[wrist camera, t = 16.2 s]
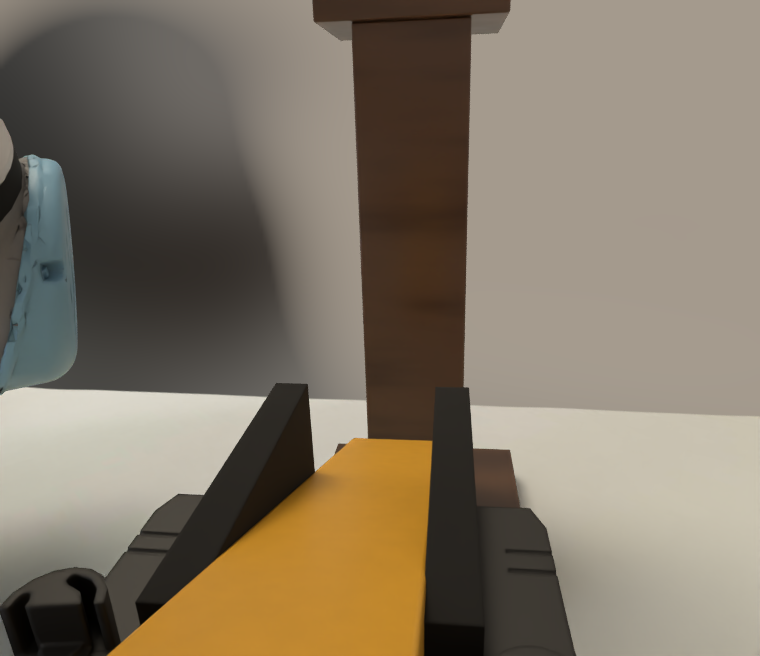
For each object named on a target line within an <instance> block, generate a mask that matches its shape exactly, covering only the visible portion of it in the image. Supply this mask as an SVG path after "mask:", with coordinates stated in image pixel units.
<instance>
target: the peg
mask: <svg viewBox="0 0 760 656" xmlns="http://www.w3.org/2000/svg"><path fill="white" fill-rule="evenodd" d="M431 456H432V441H423V440H393V439H363V438H354V439H352V440H351V441H350V442H349V443H348V444H346V445H345V446H344V447H343V448H342V449H341V450H340V451H339V452H337V453H336V454H335V455H334V456H333V457H332V458H331V459H329V460H328V461H327V462H326V463H325V464H324V465H323V466H321V467H320V468H319V469H318V470H317V471H316V472H315V473H314V474H312V475H311V476H310V477H309V478H308V479H307V480H306V481H304V482H303V483H302V484H301V485H300V486H299V487H298V488H296V489H295V490H294V491H293V492H292V493H291V494H290V495H289V496H287V497H286V498H285V499H284V500H283V501H282V502H281V503H279V504H278V505H277V506H276V507H275V508H274V509H273V510H271V511H270V512H269V513H268V514H267V515H266V516H265V517H264V518H262V519H261V520H260V521H259V522H258V523H257V524H256V525H254V526H253V527H252V528H251V529H250V530H249V531H248V532H246V533H245V534H244V535H243V536H242V537H241V538H240V539H239V540H237V541H236V542H235V543H234V544H233V545H232V546H231V547H229V548H228V549H227V550H226V551H225V552H224V553H223V554H221V555H220V556H219V557H218V558H217V559H216V560H215V561H214V562H212V563H211V564H210V565H209V566H208V567H207V568H206V569H204V570H203V571H202V572H201V573H200V574H199V575H198V576H196V577H195V578H194V579H193V580H192V581H191V582H190V583H189V584H187V585H186V586H185V587H184V588H183V589H182V590H181V591H179V592H178V593H177V594H176V595H175V596H174V597H173V598H171V599H170V600H169V601H168V602H167V603H166V604H165V605H164V606H162V607H161V608H160V609H159V610H158V611H157V612H156V613H154V614H153V615H152V616H151V617H150V618H149V619H148V620H146V621H145V622H144V623H143V624H142V625H141V626H140V627H139V628H137V629H136V630H135V631H134V632H133V633H132V634H131V635H129V636H128V637H127V638H126V639H125V640H124V641H123V642H121V643H120V644H119V645H118V646H117V647H116V648H115V649H114V650H112V651H111V652H110V653H109V654H108V655H107V656H424V616H425V597H426V578H425V563H426V546H427V528H428V510H429V492H430V474H431Z"/></svg>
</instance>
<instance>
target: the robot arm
mask: <svg viewBox="0 0 760 656" xmlns="http://www.w3.org/2000/svg"><path fill="white" fill-rule="evenodd" d="M76 353H77V311H76V294H75V278H74V265H73V252H72V241H71V230H70V219H69V209H68V201H67V193H66V185H65V180H64V177H63V174H62V169H61V167H60V165H58V163H57V162H55V161H53V160H50V159H40V158H39V157H37V156H35V155H29V156H24V158H21V159H18V156H17V154H16V151H15V148H14V145H13V142H12V140H11V137H10V135H9V132H8V131H7V129H6V127H5V124H4V122H3V121H2V120H1V119H0V395H2V394H3V393H4V392H5V391H8V390H13V389H18V388H23V387H27V386H32V385H37V384H41V383H46V382H50V381H53V380H56V379H58V378H60V377H61V376H63V375H64V374H65V373H66V372H67V371H68V370H69V369H70V368H71V366H72V365H73V363H74V361H75V358H76ZM314 473H315V469H314V457H313V444H312V432H311V420H310V407H309V395H308V384H289V383H276V384H275V386H274V388H273V389H272V391H271V392H270V394H269V395H268V397H267V398H266V400H265V401H264V403H263V404H262V406H261V408H260V409H259V411H258V412H257V414H256V415H255V417H254V418H253V420H252V422H251V423H250V425H249V426H248V428H247V429H246V431H245V432H244V434H243V436H242V437H241V439H240V440H239V442H238V443H237V445H236V446H235V448H234V449H233V451H232V453H231V454H230V456H229V457H228V459H227V460H226V462H225V463H224V465H223V467H222V468H221V470H220V471H219V473H218V474H217V476H216V477H215V479H214V481H213V482H212V484H211V485H210V487H209V488H208V490H207V491H206V493H205V494H204V495H190V494H178V495H176V496H175V497H173V498H172V499H171V500H169V501H168V502H167V503H165V504H164V505H162V506H161V507H160V508H158V509H157V510H156V511H155V512H154V513H153V514H152V516H151V517H150V519H149V520H148V521H147V523H146V524H145V525H144V527H143V528H142V529H141V531H140V535H137V536H136V537H135V539H134V540H133V541H132V543H131V544H130V545H129V547H128V551H127V552H124V554H123V555H122V556H121V558H120V559H119V560H118V562H117V563H116V564H115V566H114V567H113V568H112V570H111V571H110V572H109V574H108V575H107V576H106V578H105V579H104V577H103V576H102V575H101V574H99V573H97V572H96V571H94V570H92V569H87V568H77V567H73V568H68V569H62V570H57V571H53V572H50V573H48V574H46V575H43V576H41V577H38V578H36V579H33V580H32V581H30V582H29V583H27V584H26V585H24V586H23V587H21V588H19V589H18V590H16V591H15V592H13V593H12V594H11V595H10V597H9V598H8V599H7V600H6V601H5V602H4V603H3V604H2V605H1V606H0V614H1V617H2V620H3V623H4V626H5V629H6V632H7V635H8V638H9V641H10V644H11V647H12V650H13V653H14V656H107V655H108V654H109V653H110V652H111V651H112V650H114V649H115V648H116V647H117V646H118V645H119V644H120V643H121V642H123V641H124V640H125V639H126V638H127V637H128V636H129V635H131V634H132V633H133V632H134V631H135V630H136V629H137V628H139V627H140V626H141V625H142V624H143V623H144V622H145V621H146V620H148V619H149V618H150V617H151V616H152V615H153V614H154V613H156V612H157V611H158V610H159V609H160V608H161V607H162V606H164V605H165V604H166V603H167V602H168V601H169V600H170V599H171V598H173V597H174V596H175V595H176V594H177V593H178V592H179V591H181V590H182V589H183V588H184V587H185V586H186V585H187V584H189V583H190V582H191V581H192V580H193V579H194V578H195V577H196V576H198V575H199V574H200V573H201V572H202V571H203V570H204V569H206V568H207V567H208V566H209V565H210V564H211V563H212V562H214V561H215V560H216V559H217V558H218V557H219V556H220V555H221V554H223V553H224V552H225V551H226V550H227V549H228V548H229V547H231V546H232V545H233V544H234V543H235V542H236V541H237V540H239V539H240V538H241V537H242V536H243V535H244V534H245V533H246V532H248V531H249V530H250V529H251V528H252V527H253V526H254V525H256V524H257V523H258V522H259V521H260V520H261V519H262V518H264V517H265V516H266V515H267V514H268V513H269V512H270V511H271V510H273V509H274V508H275V507H276V506H277V505H278V504H279V503H281V502H282V501H283V500H284V499H285V498H286V497H287V496H289V495H290V494H291V493H292V492H293V491H294V490H295V489H296V488H298V487H299V486H300V485H301V484H302V483H303V482H304V481H306V480H307V479H308V478H309V477H310V476H311V475H312V474H314ZM425 578H426V597H425V616H424V656H576V654H575V651H574V647H573V642H572V638H571V634H570V629H569V625H568V621H567V616H566V612H565V607H564V603H563V599H562V594H561V590H560V586H559V581H558V577H557V576H556V568H555V564H554V560H553V556H552V551H551V547H550V542H549V538H548V534H547V529H546V528H545V526H544V525H543V524H542V523H541V521H540V520H539V519H538V518H537V517H536V515H535V514H534V513H533V512H532V510H531V509H530V508H509V507H488V506H477V503H476V487H475V472H474V457H473V442H472V427H471V412H470V398H469V388H464V387H435V403H434V421H433V439H432V456H431V474H430V492H429V510H428V528H427V546H426V563H425Z"/></svg>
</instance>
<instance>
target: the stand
mask: <svg viewBox="0 0 760 656" xmlns="http://www.w3.org/2000/svg"><path fill="white" fill-rule="evenodd" d="M510 1H511V0H313V17H314V22H315V23H317V24H318V25H319V26H321V27H322V28H324V29H325V30H326V31H328V32H329V33H331V34H332V35H334V36H335V37H336V38H338V39H339V40H341V41H343V40H352V52H353V76H354V98H355V99H354V101H355V126H356V151H357V173H358V174H357V175H358V200H359V225H360V250H361V275H362V296H363V297H362V299H363V324H364V347H365V371H366V372H365V373H366V398H367V423H368V439H393V440H423V441H432V439H433V421H434V403H435V387H463V385H464V341H465V294H466V249H467V247H466V246H467V204H468V158H469V113H470V68H471V67H470V66H471V65H470V64H471V34H489V33H498V32H499V30H500V29H501V27H502V25H503V23H504V21H505V19H506V17H507V15H508V14H509V12H510ZM345 445H346V444H338V446H337V449H336V452H335V454H336V453H337V452H339V451H340V450H341V449H342V448H343V447H344V446H345ZM473 457H474V472H475V487H476V503H477V506H488V507H509V508H520V504H519V498H518V493H517V487H516V481H515V476H514V470H513V464H512V459H511V453H510V450H499V449H473Z"/></svg>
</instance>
